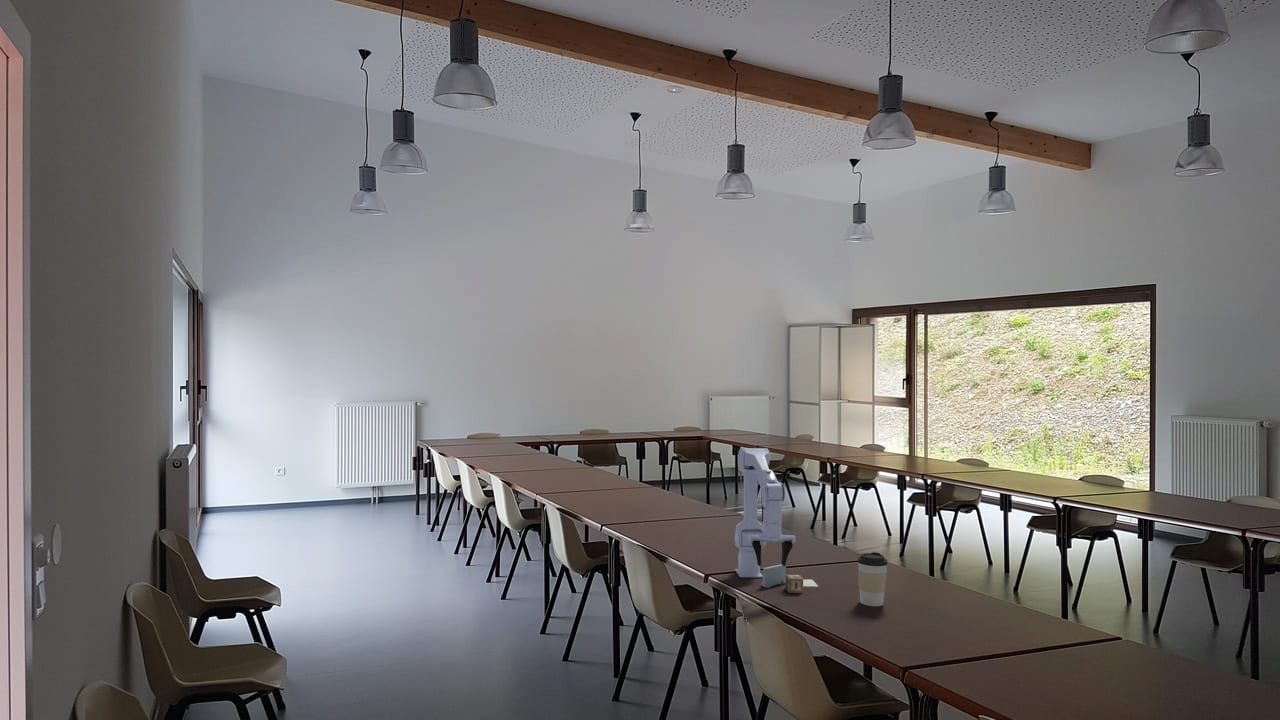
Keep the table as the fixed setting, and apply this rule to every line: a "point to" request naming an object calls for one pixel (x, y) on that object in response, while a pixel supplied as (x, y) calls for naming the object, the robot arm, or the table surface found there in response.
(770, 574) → the screen
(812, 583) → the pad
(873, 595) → the coffee cup
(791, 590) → the letter cube
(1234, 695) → the table surface
